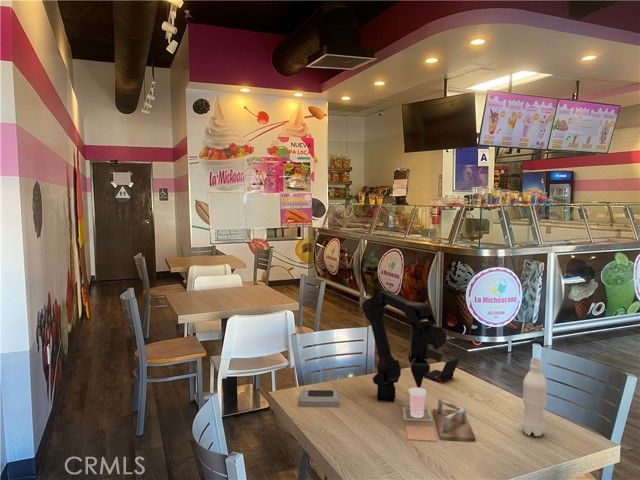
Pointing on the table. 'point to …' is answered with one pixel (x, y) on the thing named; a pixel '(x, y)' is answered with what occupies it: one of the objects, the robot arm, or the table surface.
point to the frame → (417, 419)
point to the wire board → (453, 423)
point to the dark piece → (443, 372)
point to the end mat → (420, 433)
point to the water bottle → (534, 399)
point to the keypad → (319, 398)
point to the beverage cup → (417, 402)
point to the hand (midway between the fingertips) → (417, 382)
